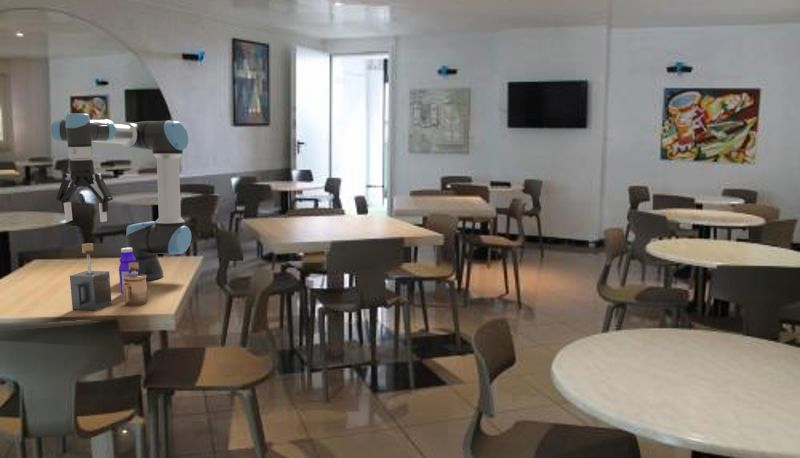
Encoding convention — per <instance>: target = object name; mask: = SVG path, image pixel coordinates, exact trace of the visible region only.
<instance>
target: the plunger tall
mask: <svg viewBox="0 0 800 458" xmlns="http://www.w3.org/2000/svg"><path fill="white" fill-rule="evenodd" d="M81 250H82V251H81V253H82V254H83V255H84V254H85V255H86V261H87V262H86V264H87V271H88V274H91V271H92V265H91V254H94V243H93V242H91V243H89V242H87V243H81Z"/></svg>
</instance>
